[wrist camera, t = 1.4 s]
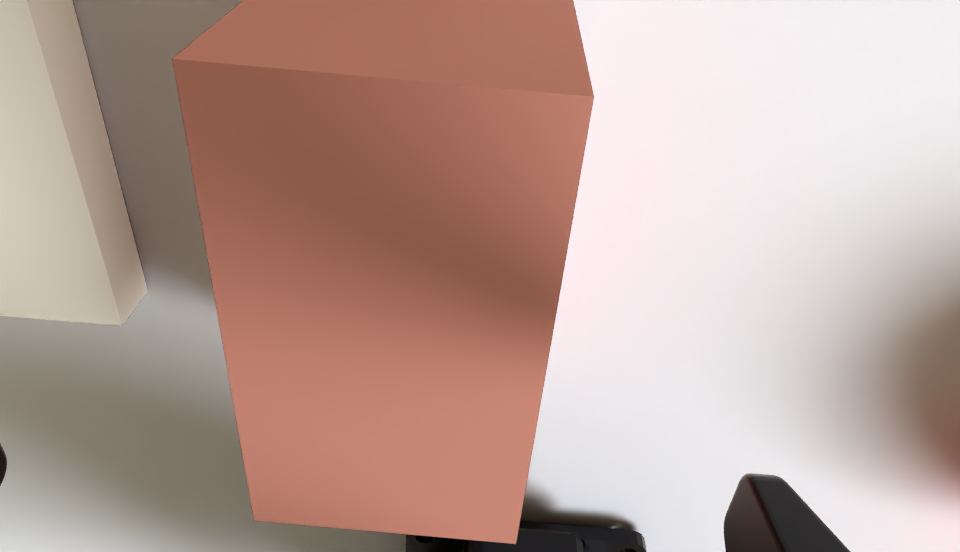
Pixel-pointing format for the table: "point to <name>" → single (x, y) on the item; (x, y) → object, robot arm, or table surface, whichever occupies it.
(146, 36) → the table surface
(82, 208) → the board
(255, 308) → the block
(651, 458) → the table surface
